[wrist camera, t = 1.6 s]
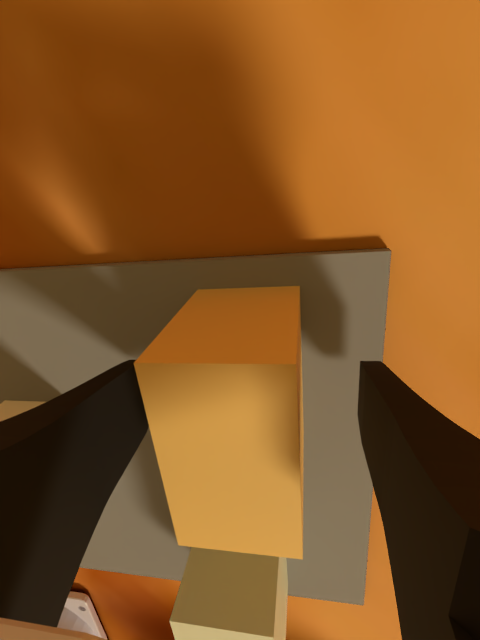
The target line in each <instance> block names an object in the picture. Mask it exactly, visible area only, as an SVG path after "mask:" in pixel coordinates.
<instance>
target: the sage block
mask: <svg viewBox="0 0 480 640" xmlns="http://www.w3.org/2000/svg"><path fill="white" fill-rule="evenodd" d="M287 596H288V575H287V560H286V558H285V557H276V556H267V555H258V554H250V553H241V552H232V551H223V550H214V549H206V548H197V547H191V551H190V554H189V557H188V561H187V564H186V567H185V571H184V574H183V577H182V581H181V584H180V587H179V591H178V594H177V597H176V601H175V604H174V608H173V611H172V614H171V618H170V625H171V628H172V631H173V635H174V638H175V640H286V620H287Z"/></svg>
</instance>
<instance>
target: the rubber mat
mask: <svg viewBox="0 0 480 640" xmlns="http://www.w3.org/2000/svg"><path fill="white" fill-rule="evenodd" d="M390 260H391V250H390V249H389V248H381V249H362V250H344V251H325V252H307V253H288V254H270V255H251V256H233V257H214V258H196V259H177V260H159V261H140V262H122V263H104V264H85V265H67V266H48V267H30V268H11V269H0V404H1V403H2V402H3V401H5V400H9V401H40V402H48V401H50V400H51V399H53V398H55V397H57V396H59V395H61V394H63V393H65V392H67V391H69V390H71V389H73V388H75V387H77V386H79V385H81V384H83V383H85V382H86V381H88V380H90V379H92V378H94V377H96V376H97V375H99V374H101V373H103V372H105V371H107V370H109V369H110V368H112V367H114V366H116V365H118V364H120V363H123V362H125V361H128V360H137V359H138V358H139V356H140V355H141V354H142V353H143V352H144V351H145V349H146V348H147V347H148V346H149V345H150V344H151V343H152V341H153V340H154V339H155V338H156V337H157V336H158V335H159V333H160V332H161V331H162V330H163V329H164V328H165V327H166V325H167V324H168V323H169V322H170V321H171V320H172V318H173V317H174V316H175V315H176V314H177V313H178V312H179V310H180V309H181V308H182V307H183V306H184V305H185V304H186V302H187V301H188V300H189V299H190V298H191V297H192V296H193V294H194V293H195V292H196V291H197V290H198V289H226V288H254V287H281V286H300V315H301V352H302V389H303V426H304V449H303V560H302V559H294V558H286V560H287V575H288V595H289V596H297V597H304V598H312V599H319V600H327V601H334V602H341V603H349V604H356V605H364V595H365V582H366V569H367V556H368V543H369V531H370V518H371V505H372V492H373V483H372V480H371V476H370V472H369V469H368V465H367V462H366V458H365V454H364V450H363V447H362V443H361V436H360V429H359V422H358V415H357V413H358V393H359V372H360V361H381V362H383V350H384V337H385V324H386V311H387V298H388V286H389V273H390ZM190 551H191V547H188V546H179V545H178V542H177V538H176V534H175V530H174V526H173V522H172V518H171V514H170V509H169V505H168V501H167V497H166V493H165V489H164V485H163V481H162V477H161V473H160V469H159V465H158V460H157V456H156V452H155V448H154V444H153V440H152V436H151V432H150V428H148V430H147V433H146V434H145V436H144V438H143V440H142V442H141V443H140V445H139V447H138V449H137V451H136V452H135V454H134V456H133V457H132V459H131V461H130V463H129V464H128V466H127V468H126V469H125V471H124V473H123V475H122V476H121V478H120V480H119V481H118V483H117V485H116V487H115V488H114V490H113V492H112V494H111V496H110V498H109V500H108V502H107V504H106V506H105V508H104V510H103V513H102V515H101V517H100V519H99V521H98V524H97V526H96V528H95V530H94V533H93V535H92V537H91V540H90V542H89V545H88V547H87V549H86V552H85V554H84V557H83V559H82V561H81V564H80V566H79V567H81V568H89V569H96V570H103V571H111V572H118V573H126V574H133V575H141V576H148V577H156V578H163V579H170V580H178V581H182V577H183V574H184V571H185V567H186V564H187V561H188V557H189V554H190Z"/></svg>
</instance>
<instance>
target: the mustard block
mask: <svg viewBox="0 0 480 640" xmlns="http://www.w3.org/2000/svg"><path fill="white" fill-rule="evenodd" d="M134 367H135V371H136V375H137V379H138V383H139V387H140V391H141V395H142V399H143V403H144V407H145V412H146V416H147V420H148V424H149V428H150V432H151V436H152V440H153V444H154V448H155V452H156V456H157V460H158V465H159V469H160V473H161V477H162V481H163V485H164V489H165V493H166V497H167V501H168V505H169V509H170V514H171V518H172V522H173V526H174V530H175V534H176V538H177V542H178V545H179V546H188V547H197V548H206V549H214V550H223V551H232V552H241V553H250V554H258V555H267V556H276V557H285V558H294V559H302V560H303V449H304V426H303V389H302V352H301V315H300V286H281V287H254V288H226V289H198V290H197V291H196V292H195V293H194V294H193V296H192V297H191V298H190V299H189V300H188V301H187V302H186V304H185V305H184V306H183V307H182V308H181V309H180V310H179V312H178V313H177V314H176V315H175V316H174V317H173V318H172V320H171V321H170V322H169V323H168V324H167V325H166V327H165V328H164V329H163V330H162V331H161V332H160V333H159V335H158V336H157V337H156V338H155V339H154V340H153V341H152V343H151V344H150V345H149V346H148V347H147V348H146V349H145V351H144V352H143V353H142V354H141V355H140V356H139V358H138V359H137V360H136V361H135V362H134Z"/></svg>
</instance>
